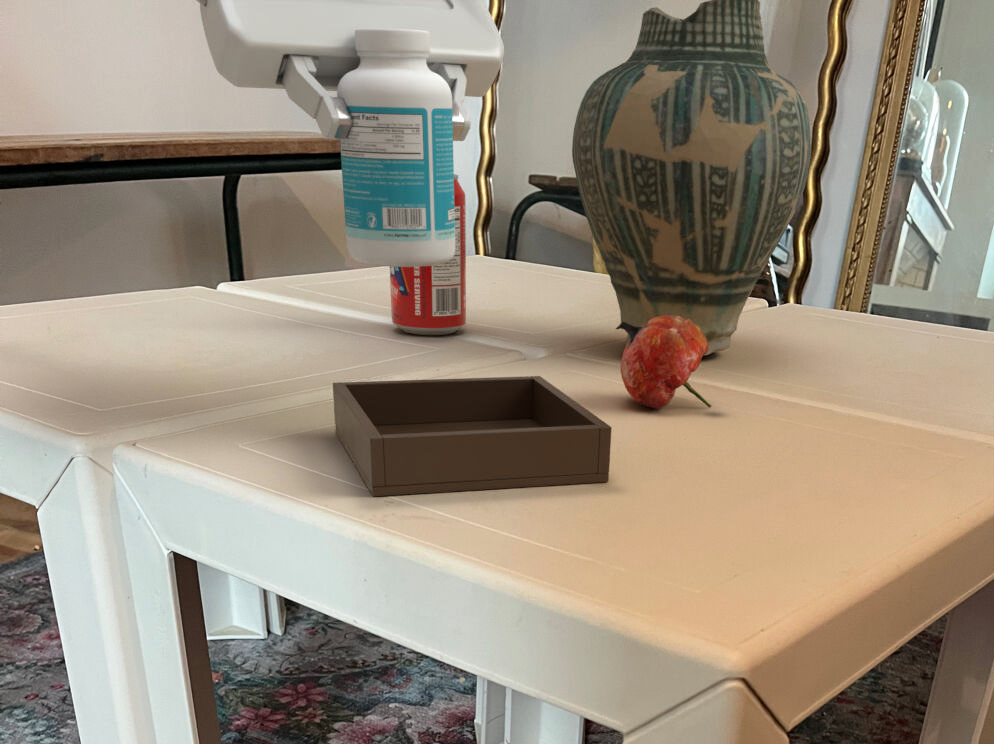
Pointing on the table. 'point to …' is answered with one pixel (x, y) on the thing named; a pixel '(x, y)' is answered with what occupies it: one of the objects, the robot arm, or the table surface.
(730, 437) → the table surface
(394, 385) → the holder
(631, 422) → the table surface
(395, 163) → the pill bottle
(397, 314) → the soda can
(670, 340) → the red lumpy rounded piece
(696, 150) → the vase
